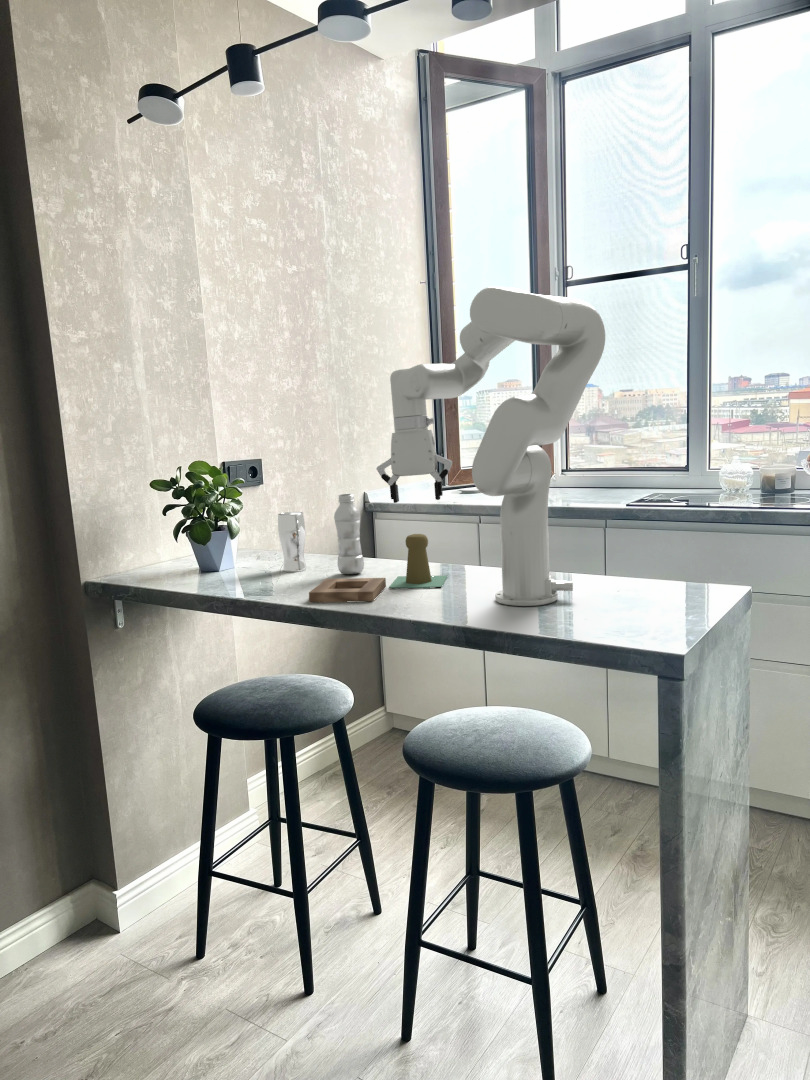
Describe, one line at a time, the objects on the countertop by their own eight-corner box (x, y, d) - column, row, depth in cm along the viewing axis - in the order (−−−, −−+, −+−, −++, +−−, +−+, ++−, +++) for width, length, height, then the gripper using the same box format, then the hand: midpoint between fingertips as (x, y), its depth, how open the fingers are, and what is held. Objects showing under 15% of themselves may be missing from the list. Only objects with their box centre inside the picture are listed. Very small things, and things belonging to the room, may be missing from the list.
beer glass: (279, 573, 204) (274, 515, 202) (284, 567, 211) (279, 512, 209) (305, 571, 204) (301, 514, 201) (310, 566, 211) (305, 511, 208)
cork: (432, 578, 185) (430, 531, 183) (430, 583, 179) (428, 535, 177) (407, 578, 186) (404, 532, 184) (404, 584, 180) (401, 536, 178)
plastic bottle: (361, 576, 194) (356, 495, 191) (335, 576, 195) (329, 496, 192) (367, 571, 200) (362, 492, 197) (341, 571, 201) (336, 493, 198)
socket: (386, 587, 180) (385, 577, 180) (373, 601, 166) (372, 591, 166) (326, 588, 182) (326, 578, 182) (309, 602, 169) (308, 592, 168)
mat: (447, 577, 187) (447, 575, 187) (441, 588, 176) (441, 586, 176) (398, 577, 189) (397, 576, 189) (388, 589, 178) (388, 587, 178)
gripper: (450, 421, 179) (456, 496, 181) (376, 428, 182) (383, 502, 184) (447, 421, 172) (453, 499, 174) (369, 428, 175) (376, 505, 177)
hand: (417, 500), depth 179 cm, fingers open, 9 cm apart
